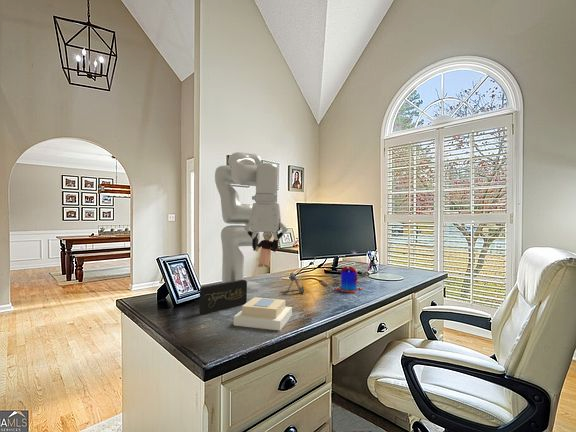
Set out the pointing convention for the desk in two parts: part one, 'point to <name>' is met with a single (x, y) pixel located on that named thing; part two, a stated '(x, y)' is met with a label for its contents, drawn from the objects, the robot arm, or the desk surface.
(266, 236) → the grandmother figurine
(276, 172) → the robot arm
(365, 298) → the desk surface
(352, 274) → the fantasy tower
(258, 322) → the plinth
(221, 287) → the nameplate
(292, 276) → the portable electronic device stand
